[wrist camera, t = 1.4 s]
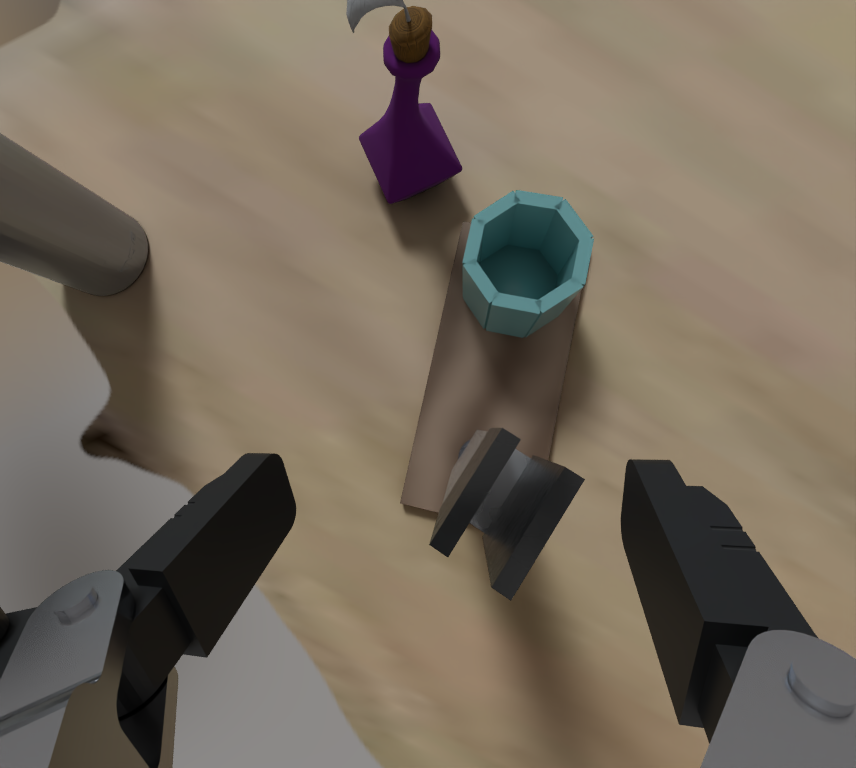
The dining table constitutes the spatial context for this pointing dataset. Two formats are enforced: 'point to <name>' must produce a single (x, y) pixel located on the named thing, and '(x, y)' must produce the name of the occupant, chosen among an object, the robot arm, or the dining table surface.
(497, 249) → the crock
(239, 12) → the dining table surface
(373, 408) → the dining table surface
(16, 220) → the robot arm
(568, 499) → the grey long forked bar
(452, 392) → the walnut board
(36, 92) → the dining table surface
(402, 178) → the perfume bottle
